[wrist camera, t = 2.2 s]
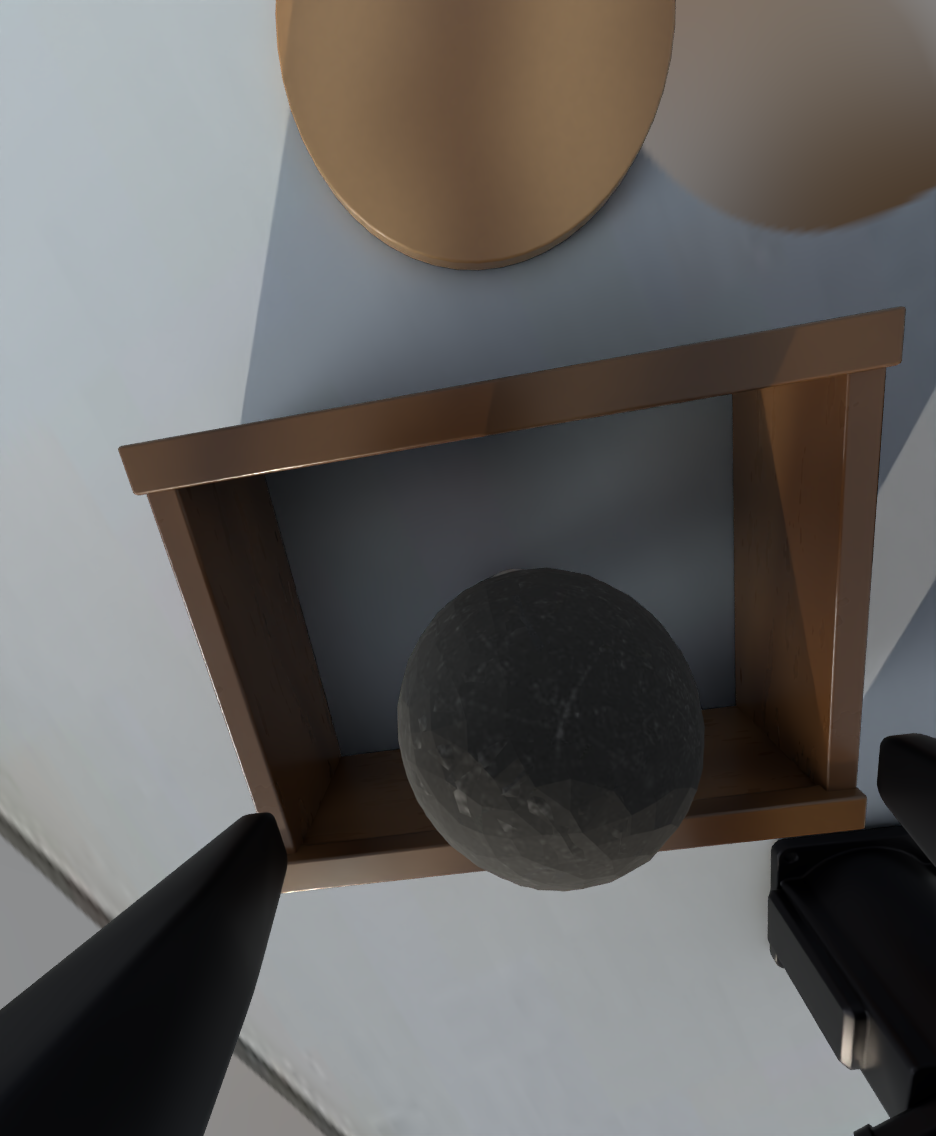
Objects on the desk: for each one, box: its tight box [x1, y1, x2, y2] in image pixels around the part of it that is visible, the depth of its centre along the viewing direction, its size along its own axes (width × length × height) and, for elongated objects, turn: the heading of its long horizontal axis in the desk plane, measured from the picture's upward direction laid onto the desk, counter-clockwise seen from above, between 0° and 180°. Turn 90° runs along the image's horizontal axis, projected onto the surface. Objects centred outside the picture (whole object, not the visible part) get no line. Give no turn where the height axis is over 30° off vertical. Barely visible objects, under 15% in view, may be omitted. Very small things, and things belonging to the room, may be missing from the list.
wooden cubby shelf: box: [118, 306, 906, 893], centre depth 13 cm, size 17×13×5 cm
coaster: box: [275, 0, 676, 270], centre depth 11 cm, size 10×10×1 cm
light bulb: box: [397, 568, 705, 891], centre depth 11 cm, size 6×6×10 cm
